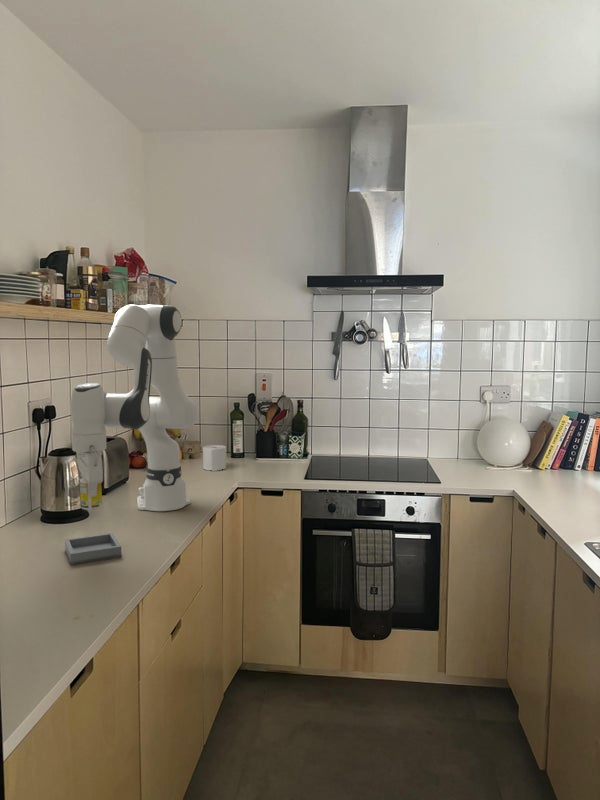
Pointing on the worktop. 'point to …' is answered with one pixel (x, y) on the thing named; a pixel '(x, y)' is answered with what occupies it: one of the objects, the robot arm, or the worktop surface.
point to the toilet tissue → (214, 457)
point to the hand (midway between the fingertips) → (91, 493)
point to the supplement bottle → (86, 499)
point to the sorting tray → (92, 548)
